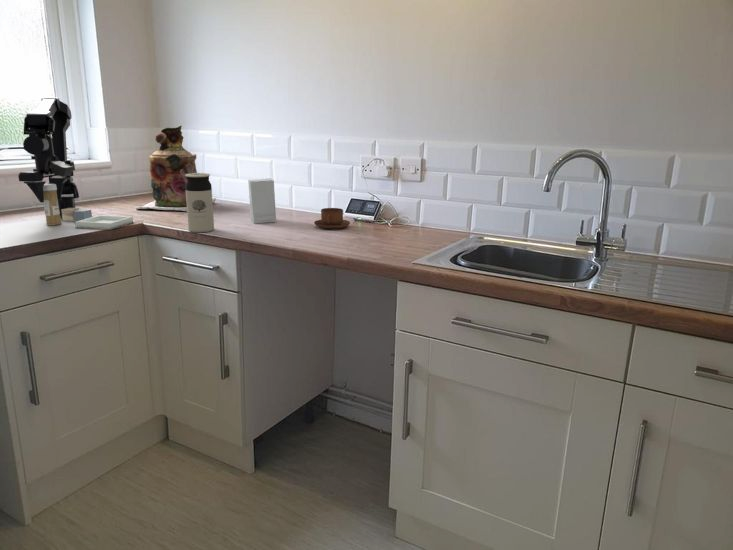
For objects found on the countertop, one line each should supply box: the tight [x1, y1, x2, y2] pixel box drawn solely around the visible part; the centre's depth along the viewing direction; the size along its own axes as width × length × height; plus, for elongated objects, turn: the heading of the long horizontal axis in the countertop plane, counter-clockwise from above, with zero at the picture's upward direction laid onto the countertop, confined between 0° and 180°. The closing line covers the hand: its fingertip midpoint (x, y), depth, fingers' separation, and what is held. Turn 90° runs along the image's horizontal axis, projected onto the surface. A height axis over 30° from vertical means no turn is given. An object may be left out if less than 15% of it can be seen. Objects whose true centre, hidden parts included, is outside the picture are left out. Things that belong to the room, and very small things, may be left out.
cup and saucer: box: [313, 207, 351, 230], centre depth 190 cm, size 12×12×6 cm
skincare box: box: [247, 178, 277, 225], centre depth 197 cm, size 8×6×15 cm
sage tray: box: [74, 214, 134, 230], centre depth 190 cm, size 13×13×2 cm
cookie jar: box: [134, 124, 217, 212], centre depth 225 cm, size 25×25×32 cm
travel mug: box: [185, 172, 215, 233], centre depth 181 cm, size 8×8×18 cm
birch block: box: [61, 207, 80, 222], centre depth 198 cm, size 4×4×4 cm
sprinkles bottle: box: [42, 183, 62, 226], centre depth 188 cm, size 5×5×14 cm
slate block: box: [73, 208, 93, 223], centre depth 195 cm, size 4×4×4 cm
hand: (50, 200), depth 188 cm, fingers open, 8 cm apart
